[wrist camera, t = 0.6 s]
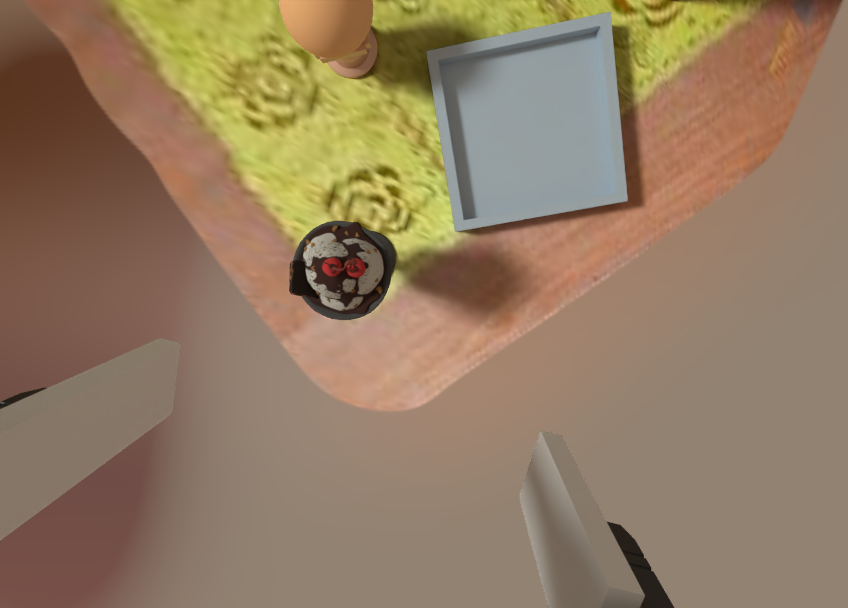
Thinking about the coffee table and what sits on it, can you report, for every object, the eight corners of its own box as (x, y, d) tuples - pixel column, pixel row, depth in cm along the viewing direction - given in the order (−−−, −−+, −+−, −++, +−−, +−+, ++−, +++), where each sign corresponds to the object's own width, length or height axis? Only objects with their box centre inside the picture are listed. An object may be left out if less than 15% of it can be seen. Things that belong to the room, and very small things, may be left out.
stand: (319, 26, 36) (300, -4, 31) (372, 14, 35) (360, -17, 31) (330, 83, 37) (314, 63, 32) (382, 72, 36) (372, 50, 31)
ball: (288, -11, 31) (252, -64, 25) (370, -30, 31) (352, -89, 25) (307, 78, 32) (276, 46, 26) (386, 61, 32) (373, 25, 26)
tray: (427, 60, 36) (426, 51, 34) (601, 23, 35) (610, 11, 33) (455, 231, 38) (455, 231, 36) (618, 201, 37) (627, 201, 35)
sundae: (417, 239, 39) (400, 251, 24) (386, 306, 40) (352, 357, 25) (349, 207, 38) (289, 199, 24) (320, 276, 40) (246, 309, 25)
